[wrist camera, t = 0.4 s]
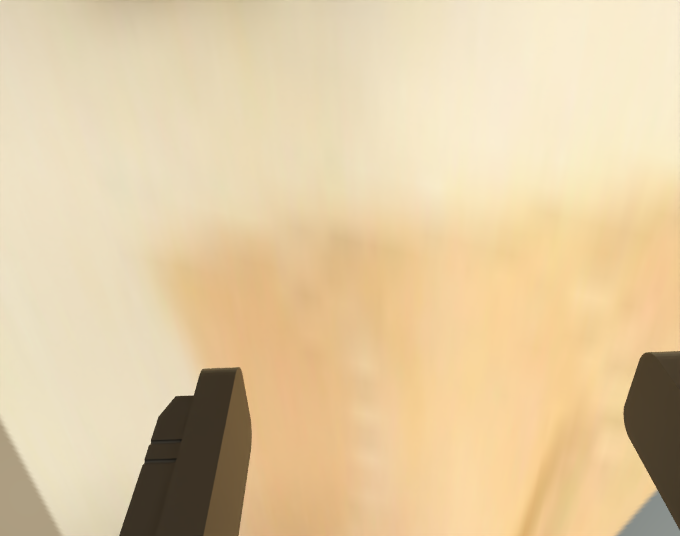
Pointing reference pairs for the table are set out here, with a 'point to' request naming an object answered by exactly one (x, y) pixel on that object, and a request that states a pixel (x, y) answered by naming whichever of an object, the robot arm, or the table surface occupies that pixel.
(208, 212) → the table surface
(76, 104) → the table surface
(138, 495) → the robot arm
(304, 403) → the table surface
